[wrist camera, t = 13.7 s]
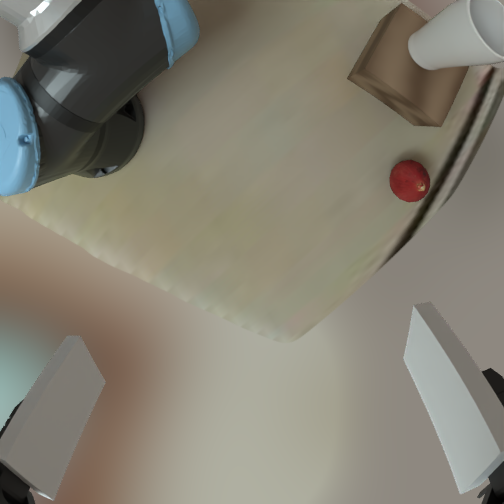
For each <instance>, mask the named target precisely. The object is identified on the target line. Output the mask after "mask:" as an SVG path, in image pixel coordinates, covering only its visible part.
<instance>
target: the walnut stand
mask: <svg viewBox="0 0 504 504" xmlns="http://www.w3.org/2000/svg"><path fill="white" fill-rule="evenodd" d="M426 23H428V22H427V21H426V20H424V19H423V18H422V17H420V16H419V15H418V14H416V13H415V12H414V11H412V10H411V9H409V8H408V7H407V6H405V5H404V4H402V3H401V4H400V5H398V6H397V7H396V8H395V9H393V10H392V11H391V12H390V13H389V14H387V15H386V16H385V17H384V18H383V19H381V20H380V22H379V24H378V26H377V27H376V29H375V31H374V32H373V34H372V36H371V38H370V39H369V41H368V43H367V45H366V46H365V48H364V50H363V52H362V53H361V55H360V57H359V59H358V60H357V62H356V64H355V66H354V67H353V69H352V71H351V73H350V74H349V76H348V78H347V79H348V80H350V81H352V82H353V83H355V84H356V85H358V86H359V87H361V88H362V89H364V90H366V91H367V92H369V93H370V94H372V95H373V96H374V97H376V98H377V99H379V100H380V101H382V102H383V103H384V104H386V105H387V106H389V107H390V108H391V109H393V110H394V111H396V112H397V113H398V114H400V115H401V116H402V117H403V118H405V119H406V120H407V121H409V122H410V123H411V124H413V125H414V126H434V127H441V126H442V124H443V122H444V120H445V118H446V116H447V114H448V112H449V110H450V108H451V106H452V104H453V102H454V100H455V97H456V95H457V93H458V91H459V89H460V87H461V84H462V82H463V80H464V78H465V75H466V73H467V71H468V68H469V66H462V67H450V68H442V69H438V70H427V69H424V68H422V67H421V66H419V65H418V64H417V63H416V62H415V61H414V60H413V59H412V57H411V55H410V53H409V50H408V40H409V38H410V36H411V35H412V34H413V33H414V32H416V31H418V30H419V29H420V28H422V27H423V26H424V25H425V24H426Z"/></svg>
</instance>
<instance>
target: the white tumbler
mask: <svg viewBox="0 0 504 504" xmlns="http://www.w3.org/2000/svg"><path fill="white" fill-rule="evenodd" d="M408 50H409V53H410V55H411V57H412V59H413V60H414V61H415V62H416V63H417V64H418V65H419V66H421V67H422V68H424V69H427V70H438V69H442V68H450V67H462V66H479V65H489V64H496V63H500V62H504V6H503V5H502V4H501V3H500V2H499V1H498V0H456V1H455V2H453V3H451V4H450V5H449V6H447V7H446V8H445V9H443V10H442V11H441V12H440V13H438V14H437V15H436V16H435V17H434V18H432V19H431V20H430V21H429V22H428V23H426V24H425V25H424V26H423V27H422V28H420V29H419V30H418V31H416V32H414V33H413V34H412V35H411V36H410V38H409V40H408Z"/></svg>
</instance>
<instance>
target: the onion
mask: <svg viewBox="0 0 504 504" xmlns="http://www.w3.org/2000/svg"><path fill="white" fill-rule="evenodd" d="M390 187H391V189H392V191H393V193H394V194H395V195H396V196H397V197H398V198H399V199H401V200H404V201H406V202H416V201H419V200H421V199H422V198H424V197H425V195H426V194H427V193H428V190H429V188H430V178H429V175H428V172H427V170H426V169H425V168H424V167H423V166H422V165H421V164H420V163H418V162H416V161H413V160H406V161H402V162H400V163H398V164H396V165H395V167H394V168H393V169H392V171H391V174H390Z"/></svg>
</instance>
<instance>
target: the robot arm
mask: <svg viewBox="0 0 504 504" xmlns="http://www.w3.org/2000/svg"><path fill="white" fill-rule="evenodd" d="M0 17H2V18H4V19H5V20H7V21H9V22H11V23H12V24H14V25H16V26H17V28H18V32H19V48H20V50H21V51H22V52H24V53H26V54H28V55H29V56H30V57H29V58H28V59H27V61H26V62H25V63H24V64H23V66H22V67H21V68H20V70H19V71H18V72H17V74H16V75H15V76H14V77H13V78H10V77H3V78H1V79H0V195H2V196H10V195H15V194H19V193H25V192H28V191H30V190H31V189H32V188H35V187H38V186H40V185H43V184H45V183H48V182H51V181H54V180H56V179H59V178H62V177H65V176H68V175H71V174H75V175H79V176H82V177H87V178H98V177H103V176H106V175H109V174H112V173H114V172H116V171H118V170H120V169H121V168H123V167H124V166H125V165H126V164H127V163H128V162H129V161H130V160H131V159H132V157H133V156H134V155H135V153H136V151H137V149H138V147H139V145H140V142H141V139H142V136H143V130H144V115H143V110H142V106H141V104H140V101H139V99H138V97H137V96H136V93H138V92H139V91H140V90H141V89H142V88H143V87H144V86H146V85H147V84H148V83H149V82H150V81H151V80H153V79H154V78H155V77H156V76H157V75H159V74H160V73H161V72H162V71H164V70H165V69H170V68H171V67H172V66H173V64H174V62H175V61H176V60H178V59H179V58H180V57H181V56H182V55H184V54H185V53H186V52H187V51H189V50H190V49H191V48H192V47H193V46H194V45H195V44H196V43H197V41H198V38H199V31H200V29H199V24H198V21H197V19H196V16H195V14H194V12H193V10H192V8H191V6H190V4H189V3H188V1H187V0H0ZM403 360H404V362H405V364H406V366H407V368H408V370H409V372H410V374H411V376H412V378H413V380H414V383H415V385H416V387H417V389H418V391H419V393H420V396H421V398H422V400H423V402H424V404H425V407H426V409H427V411H428V413H429V416H430V418H431V420H432V423H433V425H434V427H435V430H436V432H437V435H438V437H439V439H440V442H441V444H442V447H443V449H444V452H445V454H446V457H447V459H448V462H449V464H450V467H451V470H452V473H453V476H454V478H455V481H456V484H457V487H458V490H459V492H460V494H463V493H465V492H467V491H469V490H471V489H473V488H475V487H477V486H479V485H480V484H482V483H483V482H484V481H485V480H486V479H487V478H489V480H490V484H489V485H488V486H487V487H486V488H484V489H483V490H482V491H481V492H480V493H479V495H478V498H480V497H482V496H483V495H484V494H485V496H484V499H483V501H482V504H504V379H503V377H502V376H501V375H499V374H498V373H497V372H495V371H494V370H493V369H491V368H490V369H487V370H485V371H482V372H481V370H480V369H479V367H478V366H477V364H476V363H475V362H474V360H473V359H472V357H471V356H470V354H469V353H468V351H467V350H466V348H465V347H464V346H463V344H462V343H461V341H460V340H459V339H458V337H457V336H456V335H455V333H454V332H453V330H452V329H451V328H450V326H449V325H448V324H447V322H446V321H445V320H444V318H443V317H442V316H441V314H440V313H439V312H438V310H437V309H436V308H435V307H434V305H433V304H432V303H431V302H427V303H421V304H417V305H414V306H413V311H412V317H411V323H410V329H409V334H408V339H407V344H406V349H405V353H404V358H403ZM104 384H105V380H104V378H103V377H102V375H101V373H100V372H99V370H98V368H97V366H96V365H95V363H94V361H93V359H92V357H91V355H90V354H89V352H88V350H87V348H86V346H85V344H84V342H83V340H82V338H81V336H67V337H66V338H65V340H64V341H63V343H62V344H61V345H60V347H59V348H58V350H57V351H56V352H55V354H54V355H53V357H52V358H51V359H50V361H49V362H48V364H47V365H46V367H45V368H44V370H43V371H42V373H41V374H40V376H39V377H38V378H37V380H36V382H35V383H34V385H33V386H32V388H31V389H30V391H29V392H28V394H27V395H26V397H25V399H24V400H22V401H21V402H20V403H19V404H18V405H17V406H16V407H15V408H14V410H13V411H12V413H11V415H10V416H9V417H10V418H9V419H8V420H7V421H6V423H5V426H3V428H2V430H1V431H0V504H35V501H34V498H33V496H32V493H31V492H30V491H29V489H30V487H31V488H32V489H33V490H35V491H36V492H37V493H39V494H40V495H42V496H44V497H47V498H49V499H51V500H54V499H55V496H56V494H57V491H58V489H59V486H60V484H61V481H62V479H63V476H64V474H65V471H66V469H67V466H68V464H69V461H70V459H71V457H72V454H73V452H74V450H75V447H76V445H77V442H78V440H79V438H80V436H81V434H82V431H83V429H84V427H85V425H86V422H87V420H88V418H89V416H90V414H91V412H92V409H93V407H94V405H95V403H96V401H97V399H98V397H99V394H100V392H101V390H102V388H103V386H104Z"/></svg>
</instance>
